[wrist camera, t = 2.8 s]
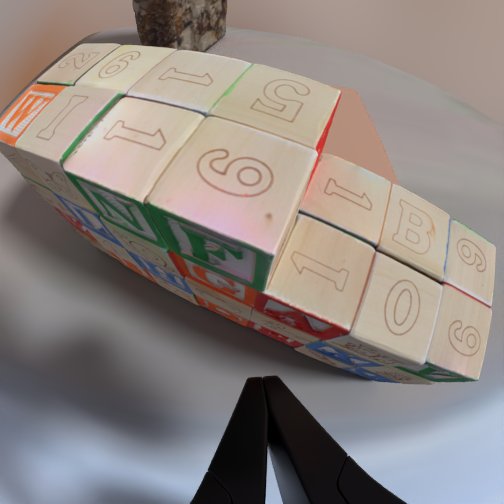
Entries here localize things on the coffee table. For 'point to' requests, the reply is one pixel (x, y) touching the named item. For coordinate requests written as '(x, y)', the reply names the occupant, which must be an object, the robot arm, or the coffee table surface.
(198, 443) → the coffee table surface
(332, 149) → the mat
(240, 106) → the stack of blocks
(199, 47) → the stone block
